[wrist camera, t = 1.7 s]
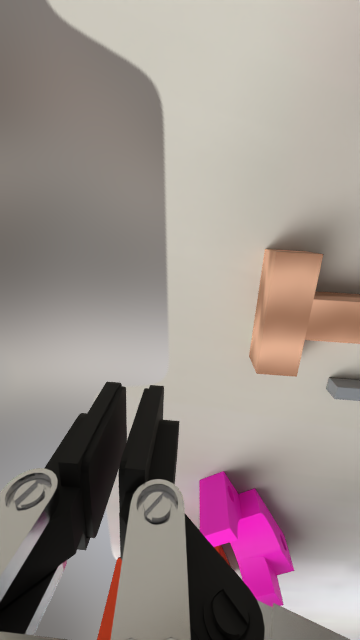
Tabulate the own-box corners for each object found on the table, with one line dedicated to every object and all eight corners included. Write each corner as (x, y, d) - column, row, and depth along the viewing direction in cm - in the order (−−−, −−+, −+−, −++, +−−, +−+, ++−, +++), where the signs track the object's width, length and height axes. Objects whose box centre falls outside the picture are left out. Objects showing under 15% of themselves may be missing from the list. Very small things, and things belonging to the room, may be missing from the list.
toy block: (283, 533, 39) (302, 600, 32) (245, 545, 41) (255, 611, 34) (240, 464, 36) (250, 521, 29) (199, 478, 37) (199, 537, 30)
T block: (265, 249, 27) (276, 251, 23) (386, 255, 26) (419, 259, 22) (249, 355, 30) (256, 373, 27) (355, 363, 30) (378, 382, 26)
